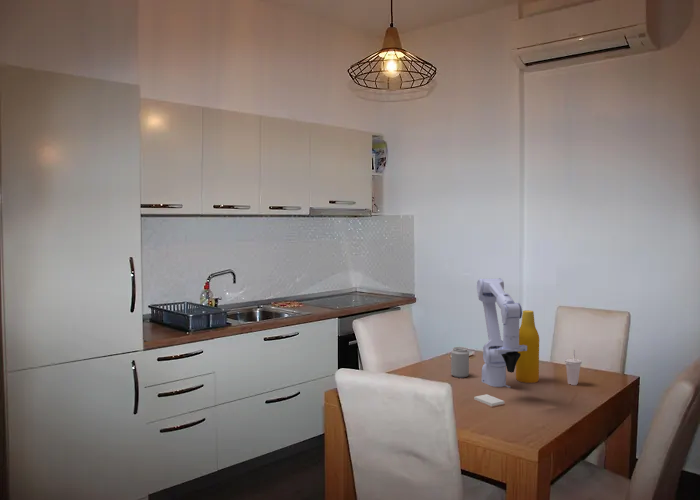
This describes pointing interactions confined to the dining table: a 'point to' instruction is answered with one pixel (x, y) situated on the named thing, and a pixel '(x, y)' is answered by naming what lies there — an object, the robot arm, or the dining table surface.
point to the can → (460, 362)
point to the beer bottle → (528, 350)
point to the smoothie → (573, 369)
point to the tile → (489, 400)
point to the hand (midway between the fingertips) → (510, 371)
